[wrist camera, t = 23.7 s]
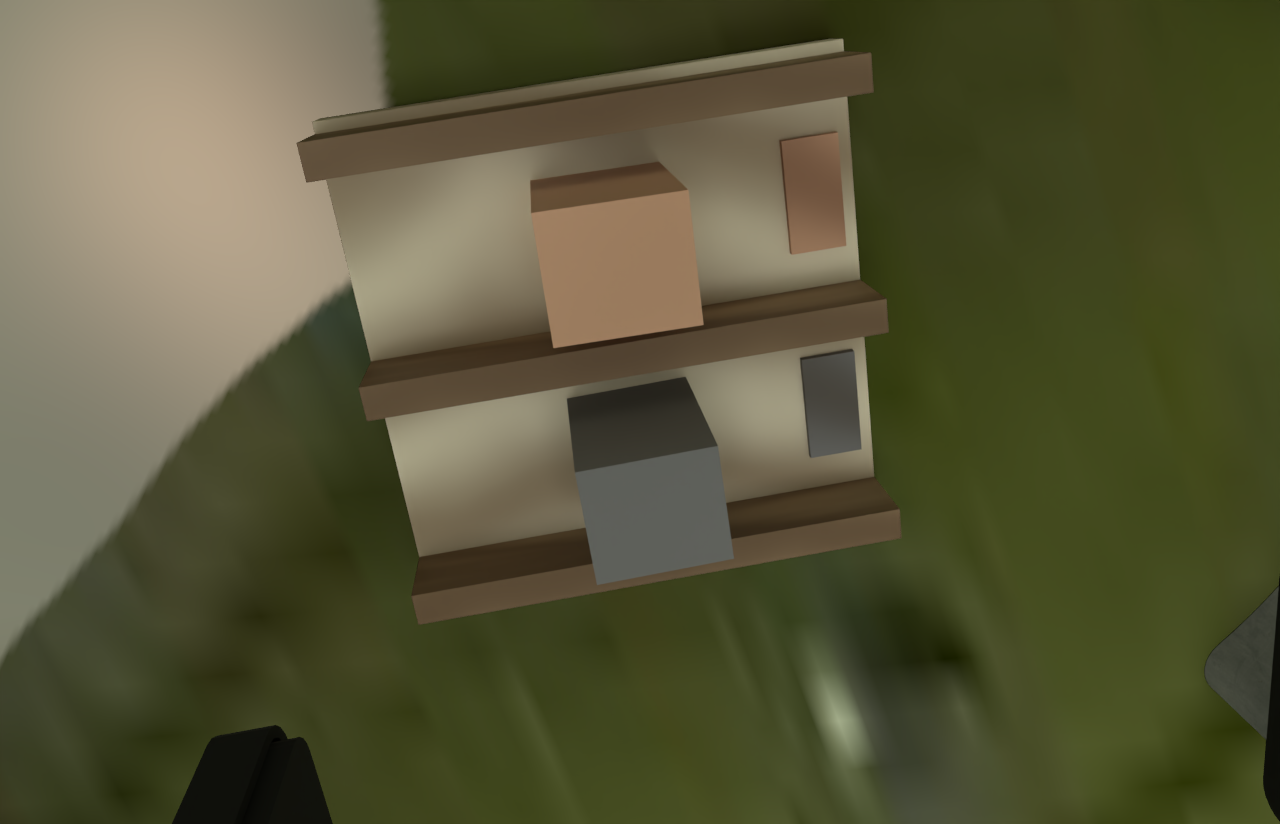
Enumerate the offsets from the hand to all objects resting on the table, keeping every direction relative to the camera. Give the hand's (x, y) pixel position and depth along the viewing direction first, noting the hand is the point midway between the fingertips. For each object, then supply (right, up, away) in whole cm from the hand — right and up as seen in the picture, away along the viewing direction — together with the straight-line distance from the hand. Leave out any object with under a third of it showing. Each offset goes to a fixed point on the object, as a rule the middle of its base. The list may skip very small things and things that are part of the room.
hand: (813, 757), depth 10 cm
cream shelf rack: (-3, +7, +30) cm, 31 cm away
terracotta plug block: (-3, +10, +27) cm, 29 cm away
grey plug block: (-2, +2, +30) cm, 30 cm away
